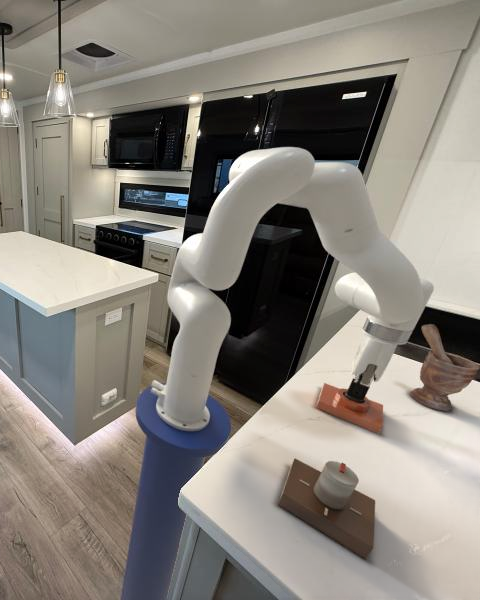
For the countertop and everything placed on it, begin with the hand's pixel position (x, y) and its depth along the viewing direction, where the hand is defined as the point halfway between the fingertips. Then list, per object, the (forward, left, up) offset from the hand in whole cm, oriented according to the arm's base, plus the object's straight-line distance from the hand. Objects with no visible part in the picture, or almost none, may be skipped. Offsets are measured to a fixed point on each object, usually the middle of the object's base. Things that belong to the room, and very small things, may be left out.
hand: (355, 395), depth 76 cm
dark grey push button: (0, 0, -2) cm, 2 cm away
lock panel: (-1, -35, -5) cm, 35 cm away
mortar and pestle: (+14, +20, -5) cm, 25 cm away
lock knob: (-1, -35, -1) cm, 35 cm away
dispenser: (0, 0, -5) cm, 5 cm away
